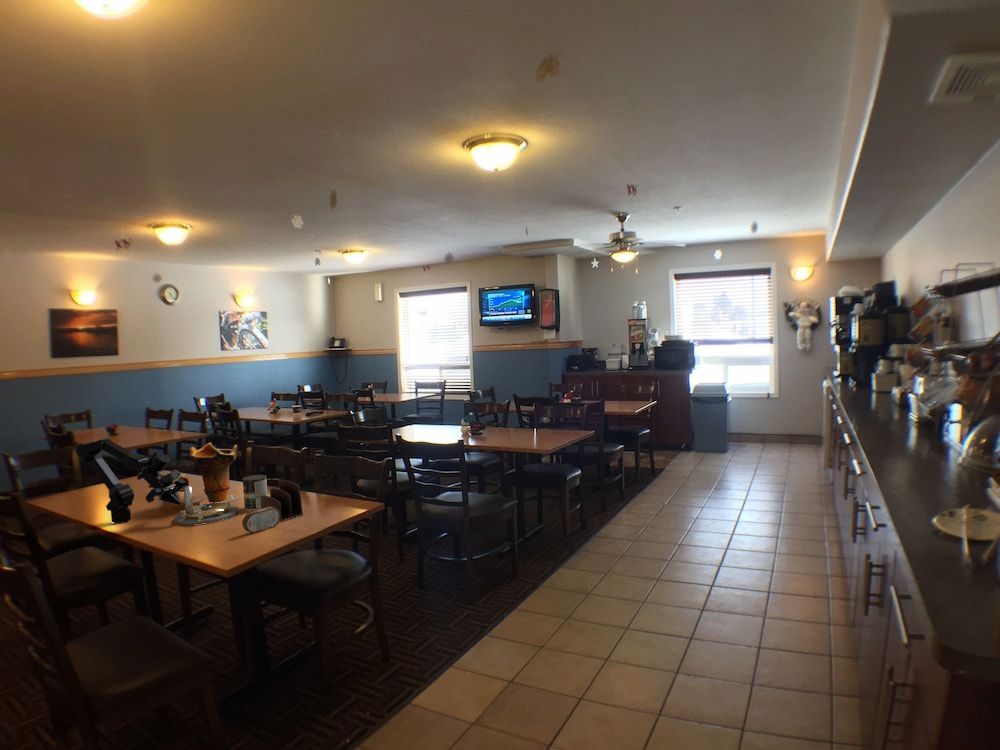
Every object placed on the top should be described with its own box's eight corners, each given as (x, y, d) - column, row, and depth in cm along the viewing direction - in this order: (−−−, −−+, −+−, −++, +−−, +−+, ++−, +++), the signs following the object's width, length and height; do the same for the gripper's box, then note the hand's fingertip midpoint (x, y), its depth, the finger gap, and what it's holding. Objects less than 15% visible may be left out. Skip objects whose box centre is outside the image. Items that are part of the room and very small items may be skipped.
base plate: (170, 529, 244) (170, 524, 244) (179, 513, 267) (178, 509, 267) (236, 519, 253) (236, 515, 253) (239, 505, 276) (239, 501, 276)
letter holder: (282, 508, 268) (280, 477, 267) (303, 515, 254) (300, 483, 253) (260, 513, 261) (258, 481, 260) (280, 521, 247) (278, 488, 246)
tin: (278, 524, 244) (276, 503, 243) (282, 525, 242) (280, 505, 241) (242, 534, 232) (241, 513, 232) (246, 536, 230) (245, 514, 230)
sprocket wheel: (215, 503, 274) (213, 475, 273) (242, 508, 263) (240, 479, 262) (170, 515, 257) (167, 486, 256) (197, 521, 246) (194, 490, 245)
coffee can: (243, 512, 264) (241, 481, 263) (245, 506, 273) (242, 476, 273) (268, 508, 267) (266, 478, 267) (268, 503, 277) (266, 473, 276)
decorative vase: (227, 506, 274) (220, 446, 272) (183, 508, 278) (175, 449, 277) (253, 494, 294) (247, 438, 293) (212, 496, 298) (205, 441, 297)
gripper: (149, 470, 244) (175, 496, 243) (180, 460, 262) (205, 485, 261) (134, 489, 245) (160, 515, 244) (165, 478, 264) (190, 502, 263)
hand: (180, 503), depth 253 cm, fingers closed
